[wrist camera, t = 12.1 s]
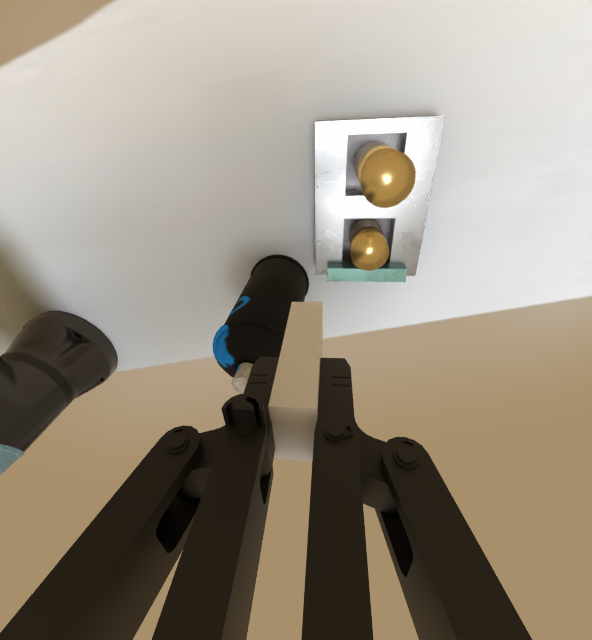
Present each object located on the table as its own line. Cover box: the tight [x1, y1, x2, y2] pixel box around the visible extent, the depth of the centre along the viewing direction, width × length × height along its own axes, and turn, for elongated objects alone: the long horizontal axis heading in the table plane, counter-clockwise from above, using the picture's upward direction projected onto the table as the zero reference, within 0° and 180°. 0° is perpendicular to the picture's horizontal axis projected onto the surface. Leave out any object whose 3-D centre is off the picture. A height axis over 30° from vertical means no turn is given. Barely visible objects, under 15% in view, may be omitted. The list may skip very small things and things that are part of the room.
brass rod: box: [354, 141, 416, 208], centre depth 28 cm, size 4×4×12 cm
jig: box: [315, 116, 445, 282], centre depth 33 cm, size 12×16×6 cm
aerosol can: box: [213, 255, 309, 393], centre depth 34 cm, size 8×8×20 cm
